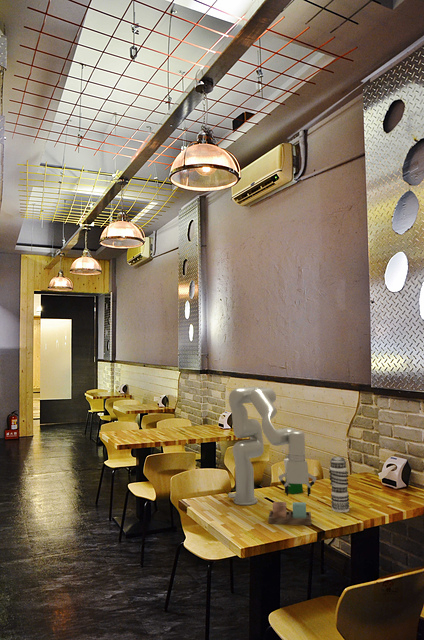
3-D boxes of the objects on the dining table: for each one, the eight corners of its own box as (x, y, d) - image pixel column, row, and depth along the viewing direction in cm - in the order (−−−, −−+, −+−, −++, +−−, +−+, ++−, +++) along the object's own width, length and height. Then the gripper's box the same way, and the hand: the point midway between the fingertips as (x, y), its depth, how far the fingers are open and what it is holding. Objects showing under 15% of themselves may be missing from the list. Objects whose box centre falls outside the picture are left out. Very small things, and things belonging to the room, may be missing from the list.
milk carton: (305, 492, 261) (303, 456, 263) (292, 495, 257) (290, 457, 259) (296, 489, 269) (294, 453, 271) (283, 491, 265) (281, 455, 267)
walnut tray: (268, 523, 213) (268, 506, 214) (270, 516, 223) (269, 500, 224) (311, 525, 210) (310, 508, 210) (310, 517, 219) (310, 501, 220)
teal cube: (293, 519, 213) (292, 506, 214) (293, 515, 219) (292, 502, 220) (306, 520, 212) (305, 506, 213) (306, 515, 218) (305, 502, 219)
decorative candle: (327, 509, 230) (324, 457, 233) (337, 505, 237) (334, 454, 239) (344, 513, 224) (341, 460, 226) (353, 509, 230) (350, 457, 233)
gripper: (277, 459, 216) (278, 496, 215) (316, 460, 213) (317, 498, 212) (278, 455, 223) (279, 492, 222) (315, 456, 220) (316, 493, 219)
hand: (297, 495), depth 217 cm, fingers open, 9 cm apart
